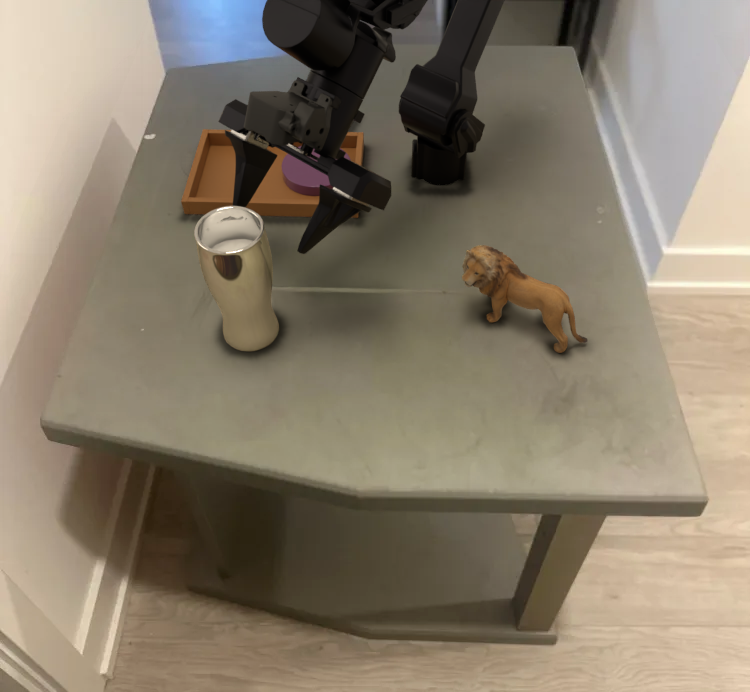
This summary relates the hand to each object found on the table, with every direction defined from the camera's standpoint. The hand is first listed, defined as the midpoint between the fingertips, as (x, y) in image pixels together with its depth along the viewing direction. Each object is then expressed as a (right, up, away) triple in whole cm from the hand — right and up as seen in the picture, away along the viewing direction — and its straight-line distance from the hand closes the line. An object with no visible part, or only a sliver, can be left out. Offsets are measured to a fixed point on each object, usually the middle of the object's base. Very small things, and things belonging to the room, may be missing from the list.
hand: (267, 232), depth 74 cm
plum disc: (+3, +11, +22) cm, 25 cm away
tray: (-2, +10, +22) cm, 24 cm away
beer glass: (-3, -10, +7) cm, 12 cm away
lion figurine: (+26, -9, +7) cm, 29 cm away
